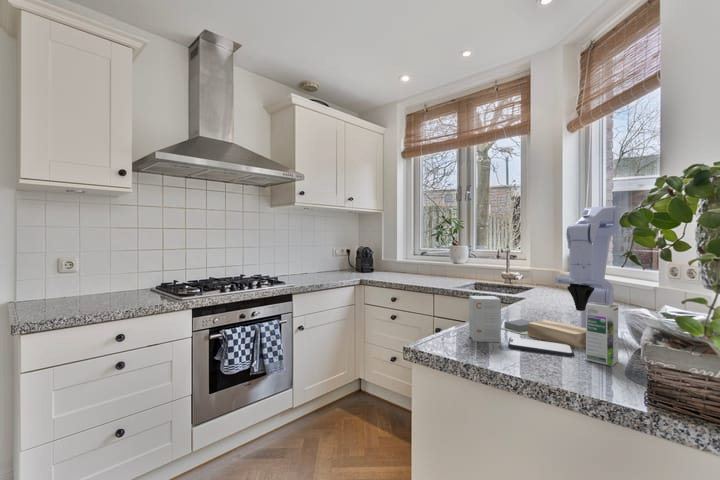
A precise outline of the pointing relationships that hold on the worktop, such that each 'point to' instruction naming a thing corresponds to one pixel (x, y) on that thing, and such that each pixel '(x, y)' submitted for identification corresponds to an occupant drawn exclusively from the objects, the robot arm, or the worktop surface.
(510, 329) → the mat
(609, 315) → the syrup box
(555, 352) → the phone case
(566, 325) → the wooden block
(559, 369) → the worktop surface
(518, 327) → the tile
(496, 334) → the small box
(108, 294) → the worktop surface
